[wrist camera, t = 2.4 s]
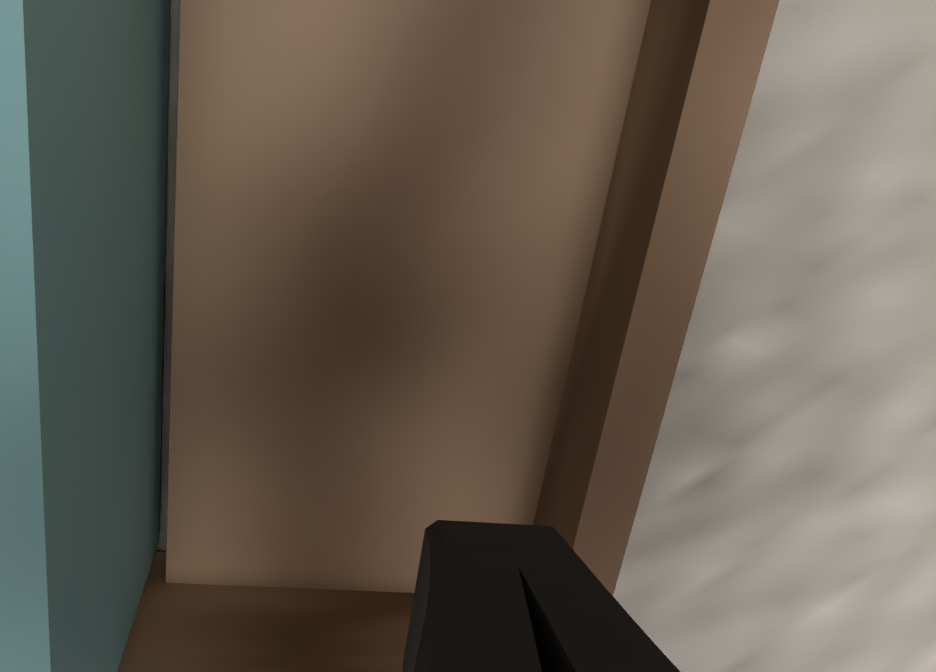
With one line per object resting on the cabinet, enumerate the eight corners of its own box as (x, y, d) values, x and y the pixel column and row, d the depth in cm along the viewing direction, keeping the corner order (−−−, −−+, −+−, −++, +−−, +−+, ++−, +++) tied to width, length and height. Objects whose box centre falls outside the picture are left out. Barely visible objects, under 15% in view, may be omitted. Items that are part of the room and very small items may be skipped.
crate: (707, -84, 15) (804, -92, 12) (542, 603, 21) (577, 722, 18) (94, -202, 13) (13, -249, 10) (102, 585, 19) (52, 714, 16)
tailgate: (171, -87, 14) (17, -115, 7) (158, 541, 18) (58, 854, 12) (91, -100, 13) (-139, -142, 7) (99, 539, 18) (-35, 855, 12)
